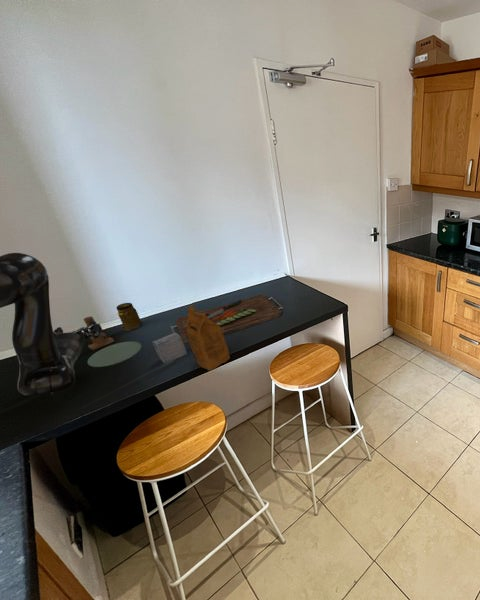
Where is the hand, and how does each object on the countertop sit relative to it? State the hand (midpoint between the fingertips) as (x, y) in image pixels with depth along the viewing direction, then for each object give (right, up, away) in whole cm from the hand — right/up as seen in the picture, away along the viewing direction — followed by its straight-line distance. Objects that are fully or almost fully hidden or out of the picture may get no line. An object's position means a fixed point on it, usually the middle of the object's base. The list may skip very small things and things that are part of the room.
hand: (77, 326), depth 109 cm
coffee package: (+43, -14, +8) cm, 46 cm away
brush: (-6, -10, +16) cm, 19 cm away
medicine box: (+27, -13, +10) cm, 31 cm away
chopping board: (+34, 0, +36) cm, 50 cm away
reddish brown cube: (-8, -9, +18) cm, 22 cm away
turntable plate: (+4, -12, +11) cm, 17 cm away
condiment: (-3, -4, +29) cm, 29 cm away
